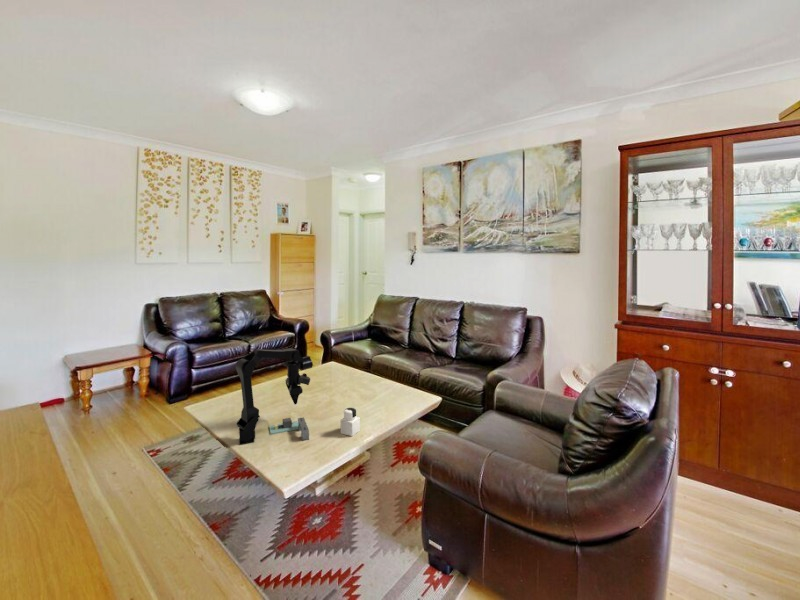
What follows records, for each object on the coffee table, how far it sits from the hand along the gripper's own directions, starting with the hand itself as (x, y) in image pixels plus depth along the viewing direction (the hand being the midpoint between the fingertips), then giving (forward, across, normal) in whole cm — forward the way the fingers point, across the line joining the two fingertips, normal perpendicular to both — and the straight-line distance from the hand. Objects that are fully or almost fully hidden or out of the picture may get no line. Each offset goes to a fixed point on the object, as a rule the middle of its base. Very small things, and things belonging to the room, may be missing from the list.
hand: (294, 401), depth 193 cm
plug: (+11, -4, +6) cm, 14 cm away
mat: (+12, -4, +6) cm, 14 cm away
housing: (+12, -14, -2) cm, 19 cm away
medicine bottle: (+12, -22, -24) cm, 35 cm away
